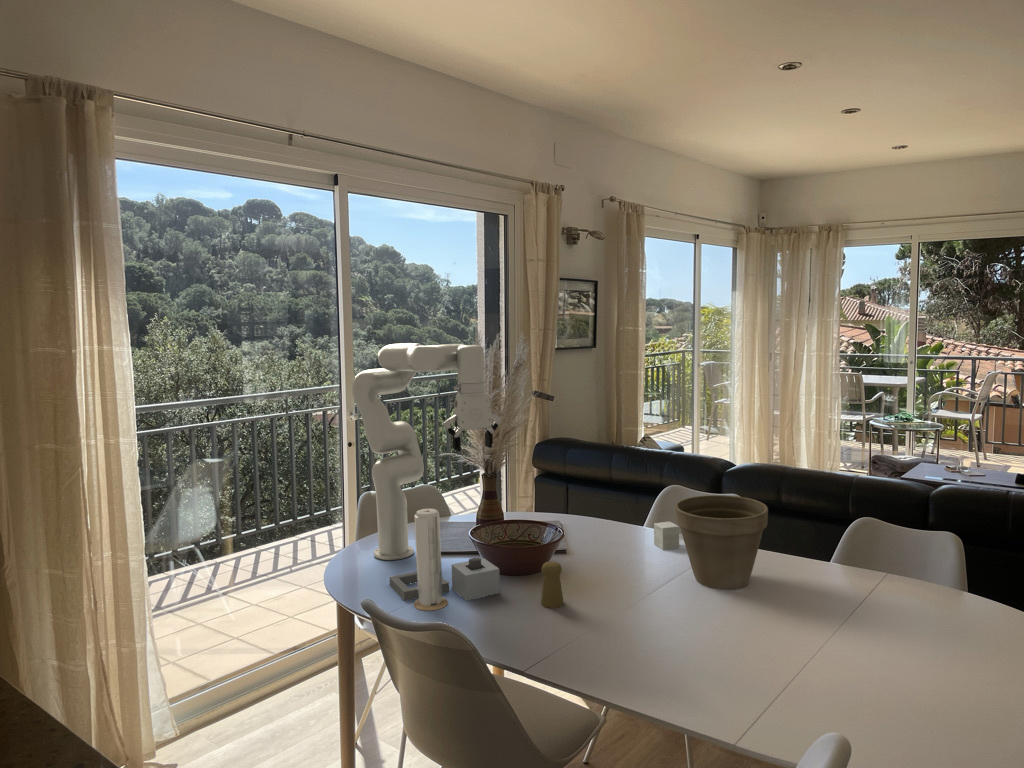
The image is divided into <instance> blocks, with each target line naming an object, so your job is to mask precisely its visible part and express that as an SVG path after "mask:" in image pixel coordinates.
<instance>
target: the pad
mask: <svg viewBox="0 0 1024 768" xmlns="http://www.w3.org/2000/svg"><path fill="white" fill-rule="evenodd" d="M448 604H449V601H448V599H447V598H446V597H443V602H442V603H441V604H440V605H438V606H434V607H423V606H420V605H419V604H418V599H415V601H414V603H413V606H414V608H415V609H416V610H419V611H426V612H428V611H429V612H430V611H432V612H433V611H438V610H441V609H444V608H445V607H446V605H448ZM443 607H444V608H443Z"/></svg>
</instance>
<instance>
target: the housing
mask: <svg viewBox="0 0 1024 768" xmlns="http://www.w3.org/2000/svg"><path fill="white" fill-rule="evenodd" d="M480 559H481V569H476V570H470V569H469V560H468V561H467V560H466V561H462V562H457V563H453V564H452V563H451V588H452V590H453V591H454V592H455V593H457V594H458V595H459V596H460V595H461V596H462V597H461V596H460V597H461V598H462V599H463V600H465V601H466V600H468V601H472V600H471V599H473V600H476V599H475V598H477V599H480V598H479V597H482V598H484V597H483V596H487V597H489V596H488V595H491V596H494V594H496V595H498V594H499V593H500V594H501V588H500V587H501V585H500V582H501V580H500V568H499V567H498V566H496V565H495V564H493V563H491V562H490V561H488V560H487V559H486V558H484V557H483V558H480Z"/></svg>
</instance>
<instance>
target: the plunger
mask: <svg viewBox="0 0 1024 768" xmlns="http://www.w3.org/2000/svg"><path fill="white" fill-rule="evenodd" d="M481 559H482V558H479V557H471V558H469V559H468V561H469V569H470V570H476V569H481Z"/></svg>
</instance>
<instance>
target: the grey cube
mask: <svg viewBox="0 0 1024 768" xmlns="http://www.w3.org/2000/svg"><path fill="white" fill-rule="evenodd" d="M653 545H654V546H655V547H657V548H659V549H660V550H662V551H669V550H676V549H679V548H680V526H679V525H678V524H676V523H673V522H671V521H663V522H654V523H653Z"/></svg>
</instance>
